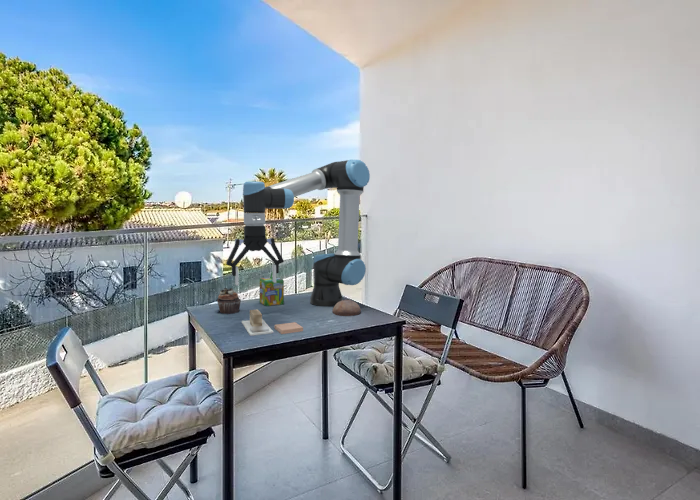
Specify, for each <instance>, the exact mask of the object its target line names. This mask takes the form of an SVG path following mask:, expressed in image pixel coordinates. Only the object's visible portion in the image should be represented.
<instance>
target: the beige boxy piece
mask: <svg viewBox="0 0 700 500" xmlns="http://www.w3.org/2000/svg"><path fill="white" fill-rule="evenodd" d="M262 319H263V314H262V313H261V311H260V310H259V309H257V308H256V309H249V320H250V324H251V325H252V327H250V331H251V332H252V333H258V332H267V331H269V328H268V327H267V326H266V325H264V326H262Z"/></svg>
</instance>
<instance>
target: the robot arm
mask: <svg viewBox="0 0 700 500" xmlns="http://www.w3.org/2000/svg"><path fill="white" fill-rule="evenodd" d="M370 178H371V175H370V170H369V168H368V166H367V165H366V162H364V161H363V160H361V159H346V160H341V161H334V162H330V163H327V164H326V165H323V166H320V167H318V168H317V167H316V168H314V169H313V170H312V171H311V172H309V173H306V174H303V175H300V176H297V177H294V178H290V179H287V180H284V181H280V182H277V183H274V184H271V185H269V186H268V185H267V186H265V182H263V181H249V180H248V181H245V182H244V183H243V187H242V197H243V198H242V199H243V201H242V202H243V224H244V226H243V234H244V235H243V236H244V237H243V239H240V238H235V240H234V246H233V248H232V249H231V252H230V254H229V256H228V258H227V260H226V262H225V264H226V265H227V266H228V267H231V275H232V277H234V284H235V286H239V267H238V264H239V263H240V262H241V260H242V259H243V258H244V257H245V256H246V254H247V253H248V252H249V251H250V252H255V251H256V252H261V251H263V253H264V254H265V255H266V256H268V258H269V259H270V260H271V261H272V264H271V267H272V268H271V269H272V270H271V273H273V274H272V277H273V282H274V283H276V277H277V274H279V273H280V264H283V263H284V262H285V260H284V258H283V257H282V254H281V253H280V251H279V248H278V247H277V245H276V239H275V238H274V237H270V238H267V237H266V234H267V233H266V232H267V231H266V226H265V224H266V209H271V210H273V209H283V210H284V209H291V208H292V207H293V205H294V201H295V197H298V196H302V195H305V194H307V193H311V192H313V191H315V190H318V191H323V190H326V189H327V190H328V189H336V192H337V193H338V194H339V214H338V215H339V216H338V241H337V250H336V251H335V252H334V253H333V252H331V253H323V254H316V255H315V256H314V257H313V282H314V283H313V288H312V292H311V294H310V299H309V301H310V304H311V305H313V306H319V307H320V306H321V307H331V306H333V307H334V306H335V305H336V304H337V303H338V302H340V301H342V300H344V297H343V295H342V291H341V288H340V284H341V285H342V284H343V285H345V286H355V285H356V286H357V285H358V284H360V282H362V281H363V279H364V277H365V275H366V272H367V271H366V269H367V268H366V264H365V262H364V261H363V260H362V259H361V253H360V252H359V251H358V250H359V249H358V246H359V243H358V242H359V225H360V223H359V222H360V220H359V219H360V201H361V200H360V197H361V195H362V194H363V193H364V190H365V189H364V187H366V186H367V185H368V183H369V182H370ZM267 243H268V244H269V245H270V246H271V248H272V250H273V252H274V254H275V255H276V257H277V258H276V257H275V256H274V255H273V254H272V253H271V252H270V250H268V248H267V247H266V244H267ZM242 244H243V245H244V247H243V248H242V251H241V252H239V254H238V255H237V256H236V254H237V252H238V249H239V247H240V246H241V245H242ZM235 256H236V258H235ZM234 258H235V259H234ZM273 263H274V264H273Z"/></svg>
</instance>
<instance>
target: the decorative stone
mask: <svg viewBox="0 0 700 500" xmlns="http://www.w3.org/2000/svg"><path fill="white" fill-rule="evenodd" d="M361 311H362V309H361V306H360V305H359V304H358V303H357V302H356V301H353V300H351V299H343V300H342V301H340V302H338V303H337V304H336V305H333V308H332V313H333V314H334V315H335V316H341V317H351V316H353V317H354V316H358V315H360V314H361Z"/></svg>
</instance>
